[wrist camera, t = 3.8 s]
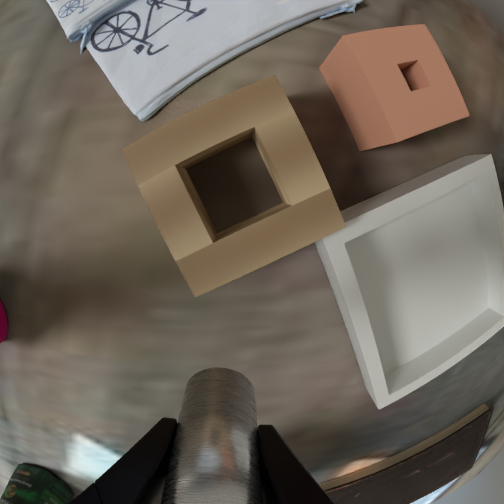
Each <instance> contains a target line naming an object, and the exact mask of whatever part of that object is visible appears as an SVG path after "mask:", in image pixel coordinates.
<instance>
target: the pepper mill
mask: <svg viewBox="0 0 504 504" xmlns="http://www.w3.org/2000/svg"><path fill="white" fill-rule="evenodd" d="M7 331H8V323H7V317H6V313H5V310H4V307H3V305H2V302H1V300H0V343H1V342H2V341H4V340H5V338H6V336H7Z"/></svg>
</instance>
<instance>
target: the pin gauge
mask: <svg viewBox="0 0 504 504" xmlns="http://www.w3.org/2000/svg"><path fill="white" fill-rule="evenodd" d="M257 430H258V428H257V414H256V401H255V390H254V387H253V385H252V383H251V382H250V381H249V380H248V379H247V378H246V377H245V376H244V375H242V374H240V373H239V372H236V371H234V370H231V369H226V368H209V369H205V370H202V371H199V372H198V373H196V374H194V375H193V376H192V377H191V378H190V379H189V381H188V383H187V385H186V389H185V393H184V397H183V402H182V406H181V410H180V415H179V419H178V424H177V428H176V432H175V437H174V441H173V446H172V451H171V455H170V460H169V465H168V469H167V474H166V479H165V484H164V489H163V494H162V499H161V504H263V493H262V480H261V468H260V457H259V444H258V431H257Z"/></svg>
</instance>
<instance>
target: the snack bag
mask: <svg viewBox="0 0 504 504" xmlns="http://www.w3.org/2000/svg"><path fill="white" fill-rule="evenodd" d="M46 1H47V2H48V4H49V5H50V7H51V8H52V10H53V11H54V13H55V15H56V17H57V18H58V20H59V22H60V24H61V26H62V28H63V29H64V31H65V34H66V35H67V39H70V41H71V42H75V41H77V40H78V39H79V38H81V40H82V42H81V45H80V47H81V52H80V54H82V52H83V49H84V47H86V48H87V49H88V50H89V52H90V53H91V55H92V56H93V58H94V59H95V60H96V62H97V63H98V65H99V66H100V67H101V69H102V70H103V72H104V73H105V75H106V76H107V78H108V79H109V81H110V82H111V84H112V85H113V87H114V88H115V90H116V91H117V92H118V94H119V95H120V97H121V98H122V100H123V102H124V103H125V104H126V105H127V106H128V107H129V109H130V110H131V111H132V113H133V114H134V115H137V116H138V118H139V120H140V121H145V120H147V119H149V118H150V117H151V116H152V115H153V114H155V113H156V112H157V111H158V110H159V109H160V108H161V107H163V106H164V105H165V104H166V103H168V102H169V101H170V100H171V99H173V98H174V97H175V96H176V95H178V94H179V93H180V92H182V91H183V90H184V89H186V88H187V87H188V86H190V85H191V84H193V83H194V82H196V81H197V80H199V79H200V78H202V77H203V76H205V75H206V74H208V73H209V72H211V71H213V70H214V69H216V68H217V67H219V66H221V65H222V64H224V63H226V62H227V61H229V60H231V59H233V58H234V57H236V56H238V55H240V54H242V53H244V52H246V51H247V50H249V49H251V48H253V47H255V46H258V45H260V44H262V43H264V42H266V41H268V40H270V39H272V38H274V37H276V36H278V35H280V34H282V33H284V32H286V31H288V30H290V29H293V28H295V27H297V26H299V25H302V24H304V23H306V22H309V21H311V20H313V19H316V18H320V19H323V18H326V17H329V16H332V15H335V14H338V13H341V12H353V13H355V7H356V5H357V4H359V5H360V2H363V0H46ZM324 15H325V16H324Z"/></svg>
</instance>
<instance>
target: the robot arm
mask: <svg viewBox="0 0 504 504" xmlns="http://www.w3.org/2000/svg"><path fill="white" fill-rule="evenodd" d="M176 428H177V420H176V419H173V418H165V417H164V418H162V419H161V420H160V421H159V422H158V423H157V424H156V425H155V426H154V427H153V428H152V429H151V430H150V431H149V432H148V433H147V434H145V435H144V436H143V437H142V438H141V439H140V440H139V441H138V442H137V443H136V444H135V445H134V446H133V447H132V448H131V449H130V450H129V451H128V452H127V453H126V454H124V455H123V456H122V457H121V458H120V459H119V460H118V461H117V462H116V463H115V464H114V465H113V466H112V467H110V468H109V469H108V470H107V471H106V472H105V473H104V474H103V475H102V476H101V477H99V478H98V479H97V480H96V481H95V483H92V484H91V485H90V486H89V487H88V488H87V489H86V490H84V491H83V492H82V493H81V494H80V495H78V496H77V497H76V498H74V499H73V500H72V501H70V502H69V503H67V504H161V499H162V494H163V489H164V484H165V479H166V474H167V469H168V465H169V460H170V455H171V451H172V446H173V441H174V437H175V432H176ZM257 431H258V444H259V457H260V468H261V480H262V493H263V504H335V503H334V502H333V501H331V498H330V497H329V496H328V495H327V494H326V492H325V491H324V490H323V489H322V488H321V487H320V485H319V484H318V483H317V482H316V481H315V479H314V478H313V477H312V476H311V474H310V473H309V472H308V471H307V470H306V468H305V467H304V466H303V465H302V463H301V462H300V461H299V459H298V458H297V457H296V456H295V454H294V453H293V452H292V450H291V449H290V448H289V447H288V445H287V444H286V443H285V441H284V440H283V439H282V437H281V436H280V435H279V433H278V432H277V431H276V429H275V428H274V427H273V426H272V425H259V426H258V430H257Z"/></svg>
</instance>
